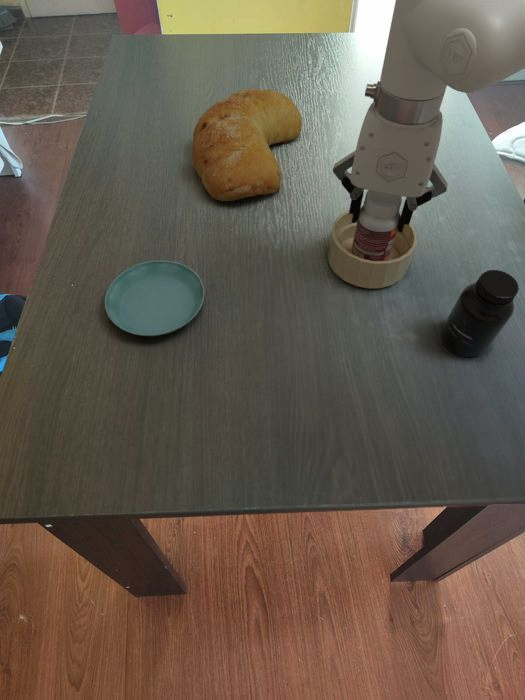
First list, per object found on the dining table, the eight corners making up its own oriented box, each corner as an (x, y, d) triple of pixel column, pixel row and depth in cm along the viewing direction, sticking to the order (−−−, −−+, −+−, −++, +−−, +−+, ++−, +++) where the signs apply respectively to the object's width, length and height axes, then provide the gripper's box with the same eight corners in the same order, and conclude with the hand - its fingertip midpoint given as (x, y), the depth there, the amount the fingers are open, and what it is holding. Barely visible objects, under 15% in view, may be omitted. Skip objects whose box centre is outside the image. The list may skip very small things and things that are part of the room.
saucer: (95, 339, 68) (90, 328, 65) (126, 267, 76) (122, 255, 74) (194, 351, 66) (192, 340, 64) (214, 276, 75) (213, 264, 73)
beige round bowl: (411, 243, 79) (421, 215, 74) (401, 298, 72) (411, 271, 67) (336, 228, 81) (341, 199, 76) (319, 280, 74) (323, 252, 69)
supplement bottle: (439, 353, 66) (470, 297, 56) (440, 317, 70) (469, 259, 60) (489, 363, 65) (529, 308, 55) (487, 325, 69) (525, 268, 59)
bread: (220, 109, 104) (216, 61, 96) (307, 122, 101) (311, 73, 93) (167, 198, 86) (157, 148, 78) (271, 215, 83) (271, 165, 75)
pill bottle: (389, 270, 73) (408, 211, 64) (350, 267, 74) (363, 209, 65) (387, 243, 77) (404, 184, 68) (350, 241, 77) (362, 182, 68)
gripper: (330, 105, 54) (316, 226, 69) (482, 128, 52) (434, 250, 66) (342, 75, 59) (327, 196, 73) (485, 96, 56) (438, 217, 70)
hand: (378, 220), depth 70 cm, fingers closed on pill bottle, 6 cm apart
